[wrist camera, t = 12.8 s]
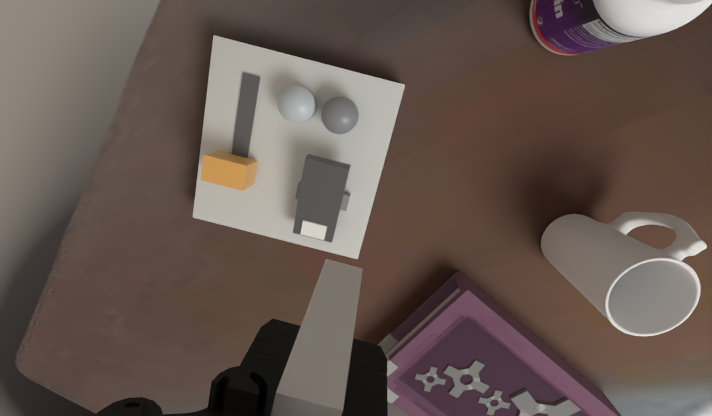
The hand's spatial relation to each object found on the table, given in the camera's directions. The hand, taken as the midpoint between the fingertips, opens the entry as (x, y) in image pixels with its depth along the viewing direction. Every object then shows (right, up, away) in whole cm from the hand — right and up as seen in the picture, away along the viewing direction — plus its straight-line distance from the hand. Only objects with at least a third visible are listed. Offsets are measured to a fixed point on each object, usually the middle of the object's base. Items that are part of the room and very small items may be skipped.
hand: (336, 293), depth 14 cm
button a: (-1, +12, +18) cm, 22 cm away
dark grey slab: (-3, +4, +19) cm, 20 cm away
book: (+17, -17, +30) cm, 39 cm away
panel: (-5, +9, +23) cm, 25 cm away
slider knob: (-11, +7, +20) cm, 24 cm away
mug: (+25, +1, +24) cm, 35 cm away
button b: (-4, +13, +18) cm, 23 cm away
